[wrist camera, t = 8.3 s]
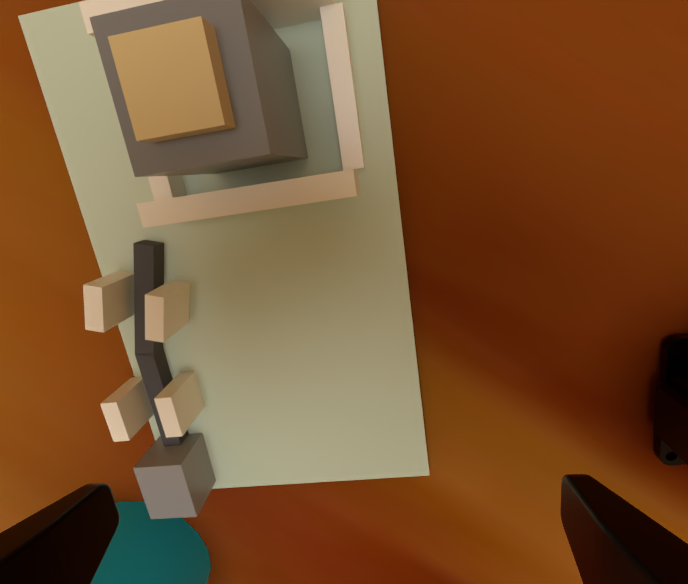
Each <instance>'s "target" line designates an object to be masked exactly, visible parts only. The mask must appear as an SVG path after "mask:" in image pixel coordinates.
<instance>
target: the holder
mask: <svg viewBox="0 0 688 584" xmlns="http://www.w3.org/2000/svg"><path fill="white" fill-rule="evenodd" d="M159 1H163V0H87V1H83V2H79V6H80V9H81V13H82V16H83V20H84V23H85V27H86V30H87V34H89V35H91V36H93V37H95V36H94V32H93V29H92V25H91V22H90V18H89V17H93V16H98V15H102V14H106V13H111V12H115V11H119V10H124V9H128V8H133V7H137V6H141V5H146V4H150V3H154V2H159ZM251 1H252V3H253V4H254V5H255V6H256V8H257V9H258V10H259V12H260V13H261V14H262V15H263V17H264V18H265V19H266V20H267V22H268V23H269V24H270V25H271V27H272V28H273V29H278V28H283V27H288V26H293V25H297V24H302V23H307V22H312V21H317V20H322V27H323V34H324V41H325V48H326V55H327V62H328V69H329V75H330V82H331V89H332V96H333V103H334V110H335V117H336V124H337V130H338V137H339V144H340V151H341V158H342V165H343V171H339V172H332V173H326V174H320V175H313V176H307V177H301V178H294V179H288V180H282V181H275V182H269V183H263V184H256V185H250V186H244V187H237V188H231V189H225V190H218V191H212V192H206V193H200V194H193V195H187V196H186V193H185V189H184V185H183V181H182V177H181V175H174V176H150V177H148V179H149V183H150V186H151V190H152V194H153V197H154V201H149V202H143V203H136V205H137V209H138V212H139V216H140V219H141V223H142V226H143V228H147V227H154V226H160V225H167V224H174V223H180V222H187V221H194V220H200V219H207V218H214V217H221V216H227V215H234V214H241V213H247V212H254V211H261V210H267V209H274V208H281V207H287V206H294V205H301V204H308V203H314V202H321V201H328V200H334V199H341V198H348V197H354V196H357V195H358V194H359V193H360V192H361V187H360V179H359V172H358V169H360V168H365V161H364V153H363V146H362V138H361V131H360V123H359V115H358V108H357V100H356V92H355V85H354V77H353V69H352V62H351V54H350V47H349V39H348V31H347V24H346V16H345V11H344V7H343V3H342V2H341V3H336V2H335V0H251Z"/></svg>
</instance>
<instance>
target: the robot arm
mask: <svg viewBox="0 0 688 584" xmlns="http://www.w3.org/2000/svg"><path fill="white" fill-rule="evenodd" d="M679 344H680V347H679V348H678V349H677V350H675V351H674V348H675V347H676V346H677V345H679ZM654 433H655V434H656V439H655V455H656V456H657V457H658V458H659V459H660V460H661V462H662V463H664V464H666V465H681V464H687V465H688V334H682V335H673V336H670V337H668V338H667V339H666V340H665V341H664V342H663V344H662V351H661V366H660V380H659V384H658V386H657V390H656V405H655V420H654ZM669 452H671V453H670V454H668V455H666V454H667V453H669ZM561 519H562V523H563V527H564V530H565V532H566V535H567V538H568V541H569V544H570V547H571V550H572V552H573V555H574V558H575V561H576V564H577V567H578V570H579V573H580V575H581V578H582V581H583V584H688V544H687V543H685V542H684V541H683V540H681V539H680V538H678V537H677V536H675V535H674V534H673V533H671V532H670V531H668V530H667V529H665V528H664V527H663V526H661V525H660V524H658V523H657V522H655V521H654V520H653V519H651V518H650V517H648V516H647V515H645V514H644V513H643V512H641V511H640V510H638V509H637V508H635V507H634V506H633V505H631V504H630V503H628V502H627V501H625V500H624V499H622V498H621V497H620V496H618V495H617V494H615V493H614V492H612V491H611V490H610V489H608V488H607V487H605V486H604V485H602V484H601V483H600V482H598V481H597V480H595V479H594V478H592V477H591V476H589V475H585V474H572V475H565V476H564V477H563V479H562V486H561ZM118 524H119V512H118V509H117V506H116V503H115V500H114V497H113V493H112V490H111V488H110V487H109V486H108V485H107V484H104V483H96V484H87V485H84V486H83V487H81V488H79V489H77V490H75V491H74V492H72V493H70V494H68V495H67V496H65V497H63V498H61V499H60V500H58V501H56V502H54V503H53V504H51V505H49V506H47V507H46V508H44V509H42V510H40V511H38V512H37V513H35V514H33V515H31V516H30V517H28V518H26V519H24V520H23V521H21V522H19V523H17V524H16V525H14V526H12V527H10V528H9V529H7V530H5V531H3V532H1V533H0V584H91V582H92V580H93V578H94V576H95V573H96V571H97V569H98V567H99V565H100V563H101V561H102V559H103V557H104V555H105V553H106V550H107V548H108V546H109V544H110V542H111V540H112V538H113V536H114V534H115V532H116V530H117V527H118Z"/></svg>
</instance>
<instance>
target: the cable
mask: <svg viewBox="0 0 688 584" xmlns="http://www.w3.org/2000/svg"><path fill="white" fill-rule="evenodd" d="M133 255H134V328H135V357H136V360H137V363H138V366H139V369H140V372H141V375H142V379H143V382H144V385H145V388H146V391H147V394H148V397H149V401H150V404H151V407H152V410H153V413H154V416H155V419H156V423H157V426H158V429H159V432H160V435H161V438H162V441H163V445H164V446H175V445H181V444H182V443H183V441H184V440H185V439H186V437H187V436H188V434H189V433H188V430H187V431H186V432H185V434H184V435H183V436H180V437H168V438H166V436H165V432H164V429H163V426H162V423H161V420H160V417H159V413H158V410H157V407H156V404H155V401H154V398H155V397H156V396H157V395H158V394H159V393H160V392H161V391H162V390H163V389H164V388H165V387H166V386H167V385H168V384H169V383H170V382H171V381H172V380H173V379H172V375H171V372H170V368H169V365H168V362H167V358H166V355H165V351H164V348H163V343H162V342H157V341H151V340H145V294H147V293H149V292H151V291H152V290H154V289H156V288H158V287H160V286H162V285H164V243H163V242H157V241H151V240H142V241H139V242H135V243H133Z"/></svg>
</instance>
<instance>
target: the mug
mask: <svg viewBox="0 0 688 584" xmlns="http://www.w3.org/2000/svg"><path fill="white" fill-rule="evenodd" d="M116 506H117V509H118V512H119V524H118V527H117V530H116V532H115V534H114V536H113V538H112V540H111V542H110V544H109V546H108V548H107V550H106V553H105V555H104V557H103V559H102V561H101V563H100V565H99V567H98V569H97V571H96V573H95V576H94V578H93V580H92V582H91V584H207V582H208V577H209V573H210V569H211V564H210V558H209V552H208V549H207V547H206V546H205V544H204V542H203V540H202V539H201V537H200V535H199V534H198V533H197V532H196V531H195V530H194V529H193V528H192V527H191V526H190V525H189V524H188V523H187V522H186V521H185V520H184V519H182V518H165V519H151V518H150V515H149V512H148V510H147V507H146V504H145V502H128V501H122V502H118V503H116Z"/></svg>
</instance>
